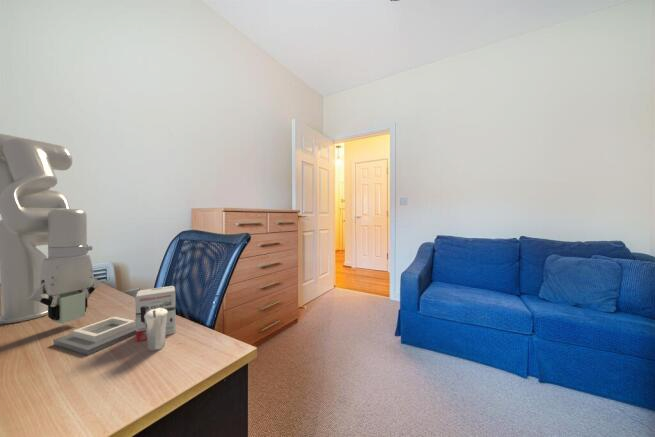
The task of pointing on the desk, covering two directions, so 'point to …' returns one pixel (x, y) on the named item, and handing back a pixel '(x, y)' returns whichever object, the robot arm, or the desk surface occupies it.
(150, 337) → the milkshake
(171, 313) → the ink box
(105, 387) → the desk surface
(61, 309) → the sage block
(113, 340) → the baseplate
